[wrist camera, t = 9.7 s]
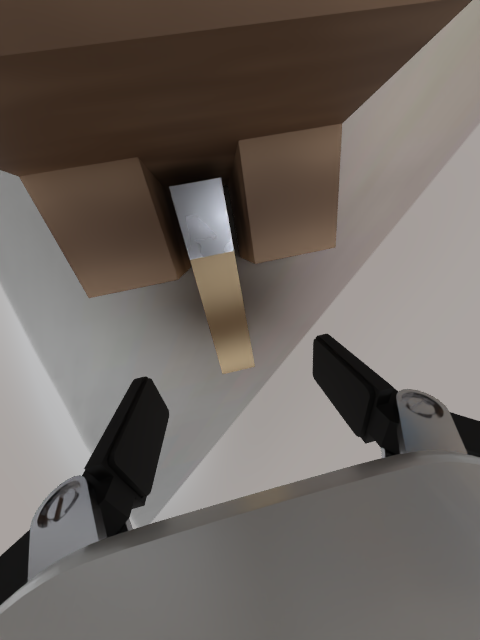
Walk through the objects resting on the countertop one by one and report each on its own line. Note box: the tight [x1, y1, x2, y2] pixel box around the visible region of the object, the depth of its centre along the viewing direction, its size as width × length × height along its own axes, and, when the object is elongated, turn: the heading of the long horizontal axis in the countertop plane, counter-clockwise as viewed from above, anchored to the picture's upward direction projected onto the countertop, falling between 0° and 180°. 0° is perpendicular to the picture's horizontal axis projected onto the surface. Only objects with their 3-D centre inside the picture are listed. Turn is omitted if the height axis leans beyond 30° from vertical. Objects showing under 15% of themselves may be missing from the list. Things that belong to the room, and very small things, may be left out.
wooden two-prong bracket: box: [0, 0, 472, 298], centre depth 10 cm, size 8×16×12 cm, turn 101°
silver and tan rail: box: [169, 178, 255, 374], centre depth 15 cm, size 14×3×6 cm, turn 11°
